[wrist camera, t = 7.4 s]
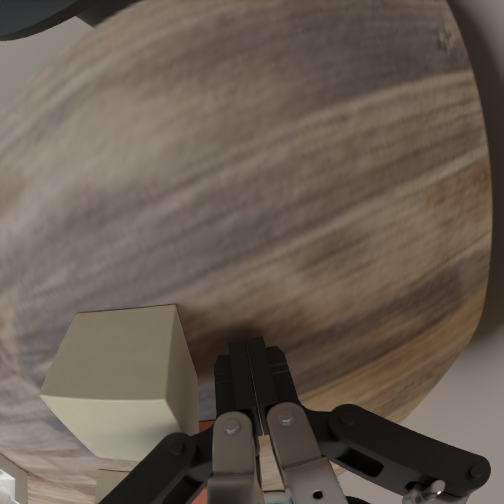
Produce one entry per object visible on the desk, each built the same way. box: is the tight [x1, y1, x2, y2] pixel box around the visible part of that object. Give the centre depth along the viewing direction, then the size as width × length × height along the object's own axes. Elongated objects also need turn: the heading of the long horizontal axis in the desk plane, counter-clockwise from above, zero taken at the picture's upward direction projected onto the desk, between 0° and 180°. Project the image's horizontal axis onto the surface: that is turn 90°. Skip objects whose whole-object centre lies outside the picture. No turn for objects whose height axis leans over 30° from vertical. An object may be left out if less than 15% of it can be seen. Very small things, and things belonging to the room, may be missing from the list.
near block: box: [39, 304, 199, 461], centre depth 11 cm, size 5×5×5 cm
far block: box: [94, 469, 130, 504], centre depth 19 cm, size 5×5×5 cm
